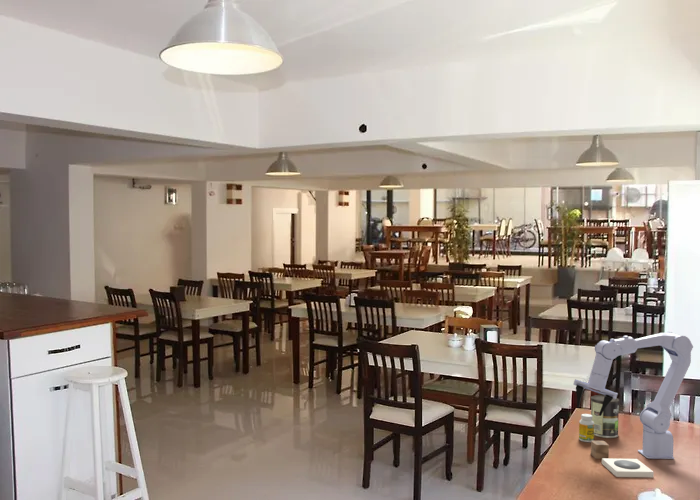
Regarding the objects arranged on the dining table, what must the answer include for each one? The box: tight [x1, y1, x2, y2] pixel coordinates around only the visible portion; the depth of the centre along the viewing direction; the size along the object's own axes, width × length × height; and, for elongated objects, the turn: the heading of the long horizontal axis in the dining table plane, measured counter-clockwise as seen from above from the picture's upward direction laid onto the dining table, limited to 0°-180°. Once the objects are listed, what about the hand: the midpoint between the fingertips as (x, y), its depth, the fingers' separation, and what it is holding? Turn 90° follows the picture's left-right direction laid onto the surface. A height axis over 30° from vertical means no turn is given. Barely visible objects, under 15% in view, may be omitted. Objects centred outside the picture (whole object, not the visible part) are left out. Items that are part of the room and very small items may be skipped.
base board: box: [601, 457, 655, 478], centre depth 216 cm, size 12×12×2 cm
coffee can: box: [590, 394, 620, 439], centre depth 254 cm, size 10×10×14 cm
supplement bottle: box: [578, 413, 595, 443], centre depth 246 cm, size 5×5×10 cm
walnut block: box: [590, 440, 610, 460], centre depth 228 cm, size 4×4×5 cm
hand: (588, 411), depth 228 cm, fingers open, 7 cm apart
